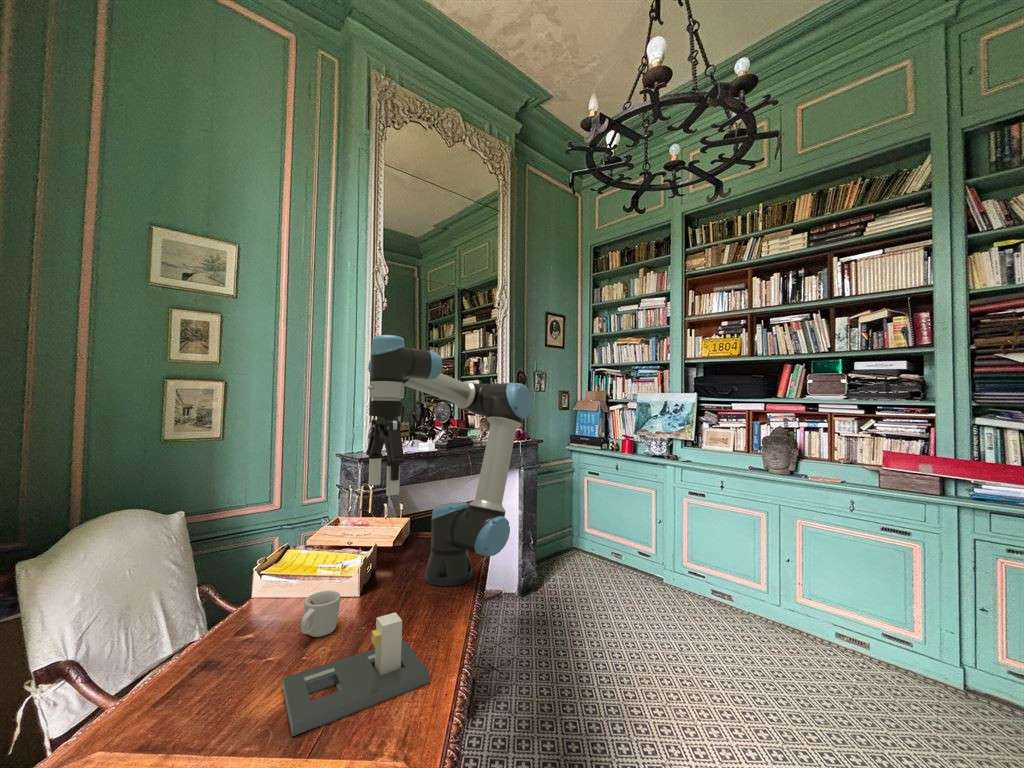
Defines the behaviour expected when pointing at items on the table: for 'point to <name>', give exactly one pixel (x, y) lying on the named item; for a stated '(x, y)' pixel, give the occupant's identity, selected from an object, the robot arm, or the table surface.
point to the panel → (348, 688)
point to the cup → (320, 613)
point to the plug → (387, 643)
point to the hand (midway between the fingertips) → (383, 489)
